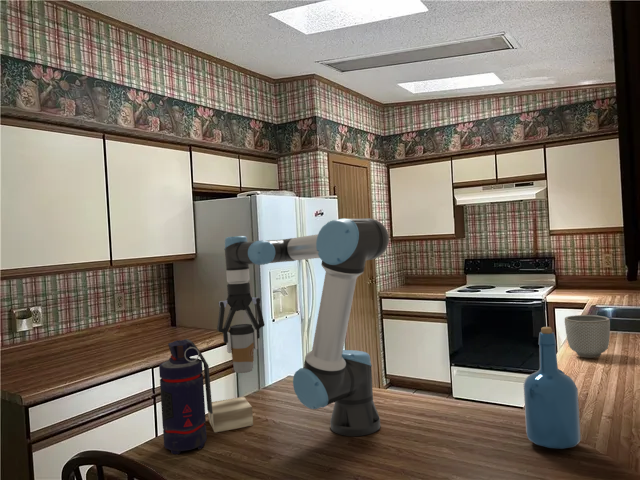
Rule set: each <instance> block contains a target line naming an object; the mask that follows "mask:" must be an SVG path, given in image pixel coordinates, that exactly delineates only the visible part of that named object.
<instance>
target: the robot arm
mask: <svg viewBox="0 0 640 480" xmlns="http://www.w3.org/2000/svg"><path fill="white" fill-rule="evenodd" d="M389 236H390V235H389V233H388V230H387V228H386V226H385V225H384V224H383V223H382V222H380V221H378V219H377V220H376V219H374V218H369V217H367V218H345V217H343V218H337V219H332V220H330V221H328V222H327V223H324V225H323V226H322V227H321V228H320V230H319V231H318V233H317V234H310V235H305V236H298V237H297V236H296V237H291V238H290V237H289V238H284V239H269V240H266V239H265V240H263V239H262V240H253V241H251V240H250V241H248V237H247V236H246V235H238V236H237V235H235V236H226V238H225V239H224V254H225V255H224V256H225V258H224V259H225V268H226V282H227V285H226V288H227V298H226V300H220V301H218V308H219V311H218V318H217V319H218V320H217V326H216V327H217V328H216V330H217V332H219V333H222V336H223V337H222V338H223V342H224V344H226V352H227V353H229V354H232V352H231V339H230V333H229V330H230V326H231V324H232V322H233V319H234V316H235V314H236V312H240V311H245V312H246V314H247V316H248V318H249V321H250V322H251V325H252V327H253V330H254V332H253V343H254V350H258V349H259V348H258V339H260V337H261V336H260V335H261V334H260V329H261V328H262V327H265V321H264V317H263V313H262V309H261V298H260V297H253V296H252V294H251V283H250V282H249V281H250V279H251V278H250V269H249V268H250V266H249V265H257V266H261V265H268V264H275V263H286V262H294V261H303V260H312V259H313V260H314V259H320V260H321V267H322V269H324V271H325V274H324V279H323V280H324V281H323V286H322V289H321V290H322V291H321V297H320V302H319V309H318V313H317V319H316V325H315V332H314V337H313V341H312V348H311V351H309V352H307V353H306V355H305V357H304V363H303V367H301V368H299V369H298V370H297V371H295V372H294V373H293V377H292V386H293V387H292V388H293V391H294V394H295V395H296V398H297V399H298V400H299V402H300V403H301V404H302V405H303V406H305V407H306V408H308V409H310V410H318V409H320V408H321V409H322V408H325V407H327V406H329V405H331V404H333V403H334V404H333V408H332V412H331V417H330V422H329V424H330V430H331V431H332V432H333V433H335V434H336V435H340V436H345V437H346V436H347V437H360V436H367V435H371V434H373V433H376V432H378V431H379V430H380V429H381V418H380V415H379V413H378V411H377V407H376V405H375V402H374V395H373V394H374V393H373V376H372V375H373V374H372V362H371V356H370V354H369V353H368V352H366V351H362V350H356V349H355V350H354V349H353V350H352V349H344V346H345V343H346V342H345V341H346V337H347V331H348V326H349V322H350V315H351V311H352V306H353V305H352V304H353V299H354V295H355V289H356V285H357V280H358V279H357V278H359V276H361V275H363V274H364V272H365V268H366V262H367V261H371V260H375V259H378V258H379V257H381V256H382V255H383V254H384V253H385V252H386V250H387V249H388V247H389V244H390V243H389V241H390V237H389ZM251 303H252V304H253V305H254V309H255V313H256V317H257V319H256V318H255V315H254V314H253V311H252V310H251V307H250V305H251ZM227 305H229V307H230V309H229V312H228V315H227V318H226V320H225V323H224V319H225V313H226V311H225V310H226V309H225V308H227Z"/></svg>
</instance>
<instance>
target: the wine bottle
mask: <svg viewBox="0 0 640 480" xmlns="http://www.w3.org/2000/svg"><path fill="white" fill-rule="evenodd" d="M540 329H541V330H540V332H538V333H539V335H538V343H537V344H538V345H539V369H538V370H537V371H535V372H533V373H530V374H528V376H526V378H525V379H524V382H523V397H524V399H523V400H524V401H523V402H524V417H525V418H524V420H525V433H526V437H527V438H528V441H530V442H531V443H534V444H535V445H537V446H541V447H545V448H547V449H561V450H563V449H568V448H574V447H576V446H577V445H578V444H579V443H580V441H581V424H580V422H581V421H580V406H579V405H580V404H579V391H578V390H579V389H578V387H577V385H576V383H575V382H574V380H573V378H572V377H571V376H569V375H567V374H565V372H564V371H563V370H561V369H559V366H558V357H557V345H558V344H557V341H556V335H555V332H553V329H552V327H551V326H543V327H541V328H540Z"/></svg>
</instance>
